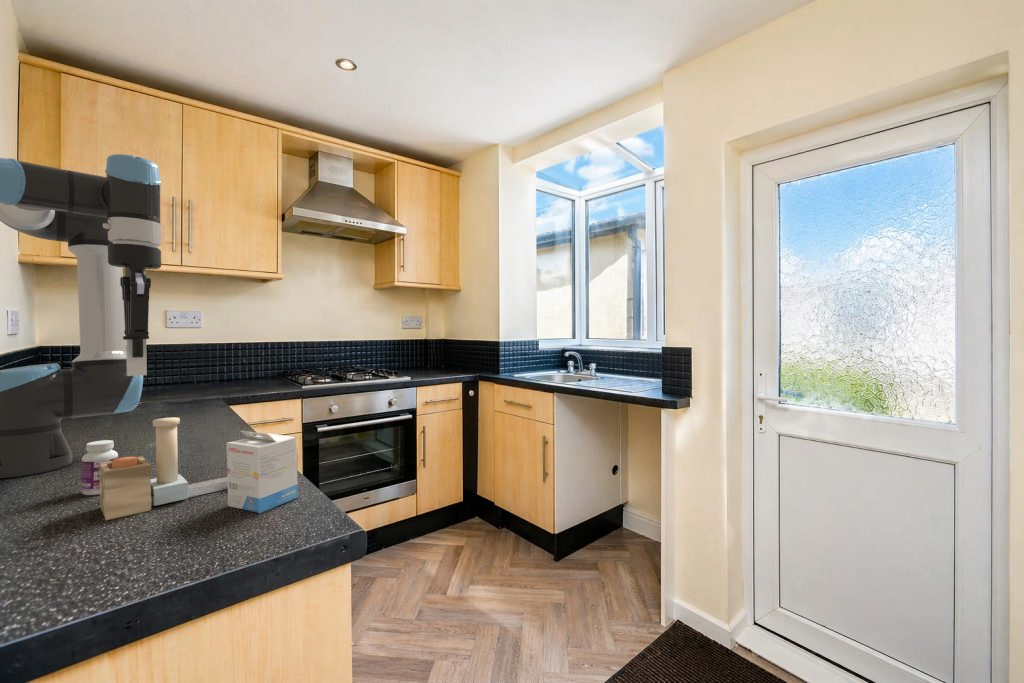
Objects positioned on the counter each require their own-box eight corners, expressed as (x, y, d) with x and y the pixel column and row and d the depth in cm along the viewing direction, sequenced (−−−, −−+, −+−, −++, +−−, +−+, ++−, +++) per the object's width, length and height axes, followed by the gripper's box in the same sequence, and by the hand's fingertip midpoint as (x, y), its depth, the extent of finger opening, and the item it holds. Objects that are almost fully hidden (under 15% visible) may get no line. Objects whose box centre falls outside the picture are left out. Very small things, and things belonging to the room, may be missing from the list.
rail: (144, 499, 86) (143, 483, 86) (235, 480, 97) (235, 466, 97) (150, 508, 82) (149, 491, 82) (245, 487, 93) (244, 472, 93)
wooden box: (100, 507, 82) (99, 462, 82) (143, 498, 87) (142, 456, 86) (105, 520, 77) (104, 472, 77) (151, 510, 81) (150, 464, 81)
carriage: (147, 496, 87) (145, 418, 86) (179, 490, 90) (178, 415, 90) (154, 506, 82) (153, 424, 81) (188, 499, 86) (187, 420, 85)
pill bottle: (96, 497, 87) (95, 446, 87) (74, 494, 88) (73, 444, 88) (125, 487, 93) (124, 439, 92) (104, 485, 94) (103, 438, 93)
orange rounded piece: (111, 479, 82) (110, 459, 81) (135, 474, 84) (135, 455, 84) (113, 483, 79) (113, 463, 79) (138, 478, 82) (138, 459, 82)
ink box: (299, 498, 87) (298, 427, 87) (258, 514, 80) (257, 437, 79) (268, 491, 91) (267, 423, 90) (226, 506, 83) (225, 432, 83)
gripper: (104, 246, 86) (106, 373, 87) (111, 238, 77) (113, 380, 77) (154, 251, 91) (156, 370, 92) (167, 244, 82) (168, 377, 83)
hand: (136, 375), depth 85 cm, fingers closed
